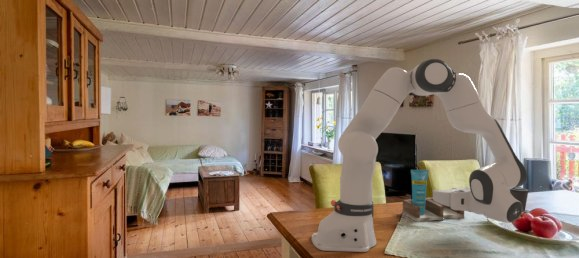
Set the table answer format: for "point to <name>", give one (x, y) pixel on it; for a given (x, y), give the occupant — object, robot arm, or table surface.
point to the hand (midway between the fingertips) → (443, 190)
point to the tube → (419, 188)
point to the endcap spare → (449, 211)
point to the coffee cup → (520, 195)
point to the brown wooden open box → (430, 214)
